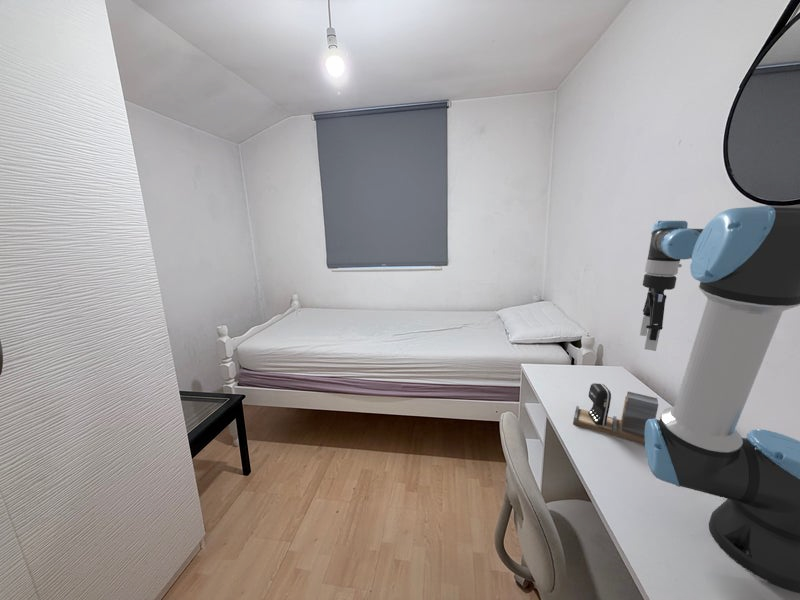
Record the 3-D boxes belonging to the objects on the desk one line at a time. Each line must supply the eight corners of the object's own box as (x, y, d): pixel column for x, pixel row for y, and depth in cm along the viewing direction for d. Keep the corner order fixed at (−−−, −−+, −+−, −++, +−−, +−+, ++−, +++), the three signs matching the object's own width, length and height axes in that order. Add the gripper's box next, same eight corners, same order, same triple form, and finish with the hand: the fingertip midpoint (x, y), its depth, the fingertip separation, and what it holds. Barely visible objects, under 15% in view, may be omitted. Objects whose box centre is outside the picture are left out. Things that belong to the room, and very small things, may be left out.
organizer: (657, 449, 90) (666, 409, 87) (573, 424, 102) (578, 388, 99) (655, 434, 97) (663, 396, 94) (575, 411, 108) (580, 377, 105)
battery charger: (584, 412, 105) (589, 380, 102) (597, 413, 104) (602, 381, 102) (593, 425, 98) (598, 391, 95) (606, 426, 98) (612, 392, 95)
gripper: (686, 282, 82) (669, 359, 88) (669, 269, 103) (656, 332, 108) (649, 279, 86) (635, 353, 91) (640, 268, 107) (629, 328, 112)
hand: (647, 342), depth 100 cm, fingers open, 13 cm apart
